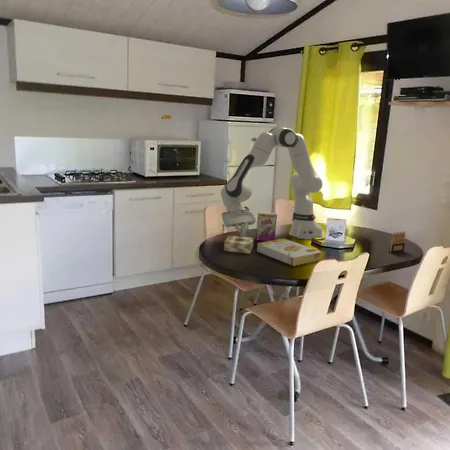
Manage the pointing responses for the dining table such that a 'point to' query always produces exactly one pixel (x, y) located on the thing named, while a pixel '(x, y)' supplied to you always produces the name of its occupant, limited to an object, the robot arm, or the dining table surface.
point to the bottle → (243, 229)
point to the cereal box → (289, 251)
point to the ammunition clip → (397, 242)
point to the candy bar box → (266, 226)
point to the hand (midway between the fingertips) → (244, 231)
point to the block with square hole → (238, 244)
